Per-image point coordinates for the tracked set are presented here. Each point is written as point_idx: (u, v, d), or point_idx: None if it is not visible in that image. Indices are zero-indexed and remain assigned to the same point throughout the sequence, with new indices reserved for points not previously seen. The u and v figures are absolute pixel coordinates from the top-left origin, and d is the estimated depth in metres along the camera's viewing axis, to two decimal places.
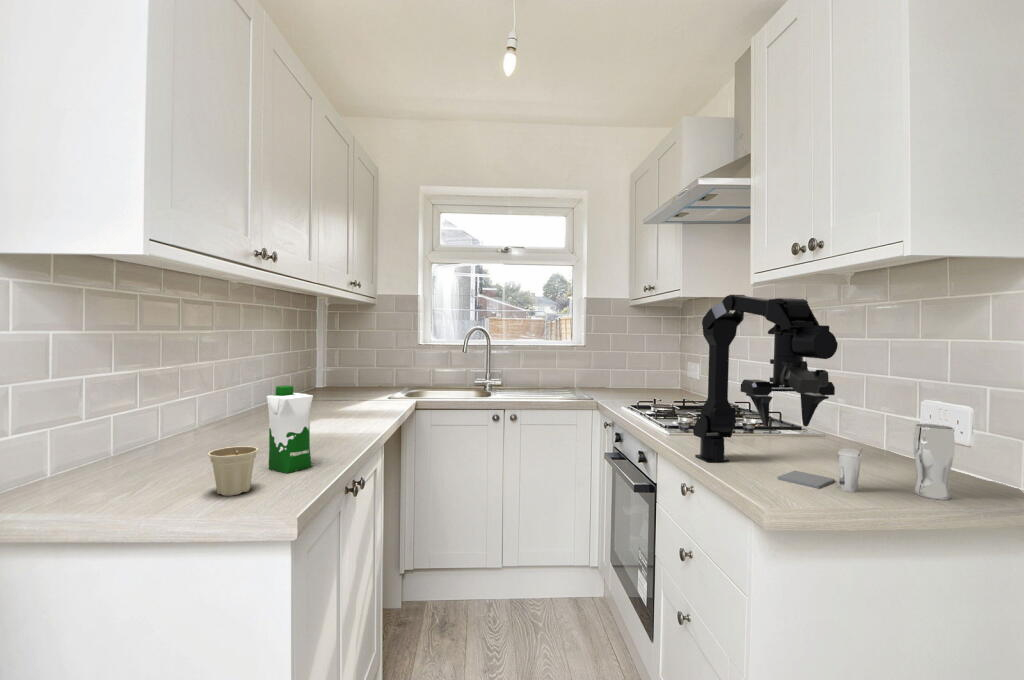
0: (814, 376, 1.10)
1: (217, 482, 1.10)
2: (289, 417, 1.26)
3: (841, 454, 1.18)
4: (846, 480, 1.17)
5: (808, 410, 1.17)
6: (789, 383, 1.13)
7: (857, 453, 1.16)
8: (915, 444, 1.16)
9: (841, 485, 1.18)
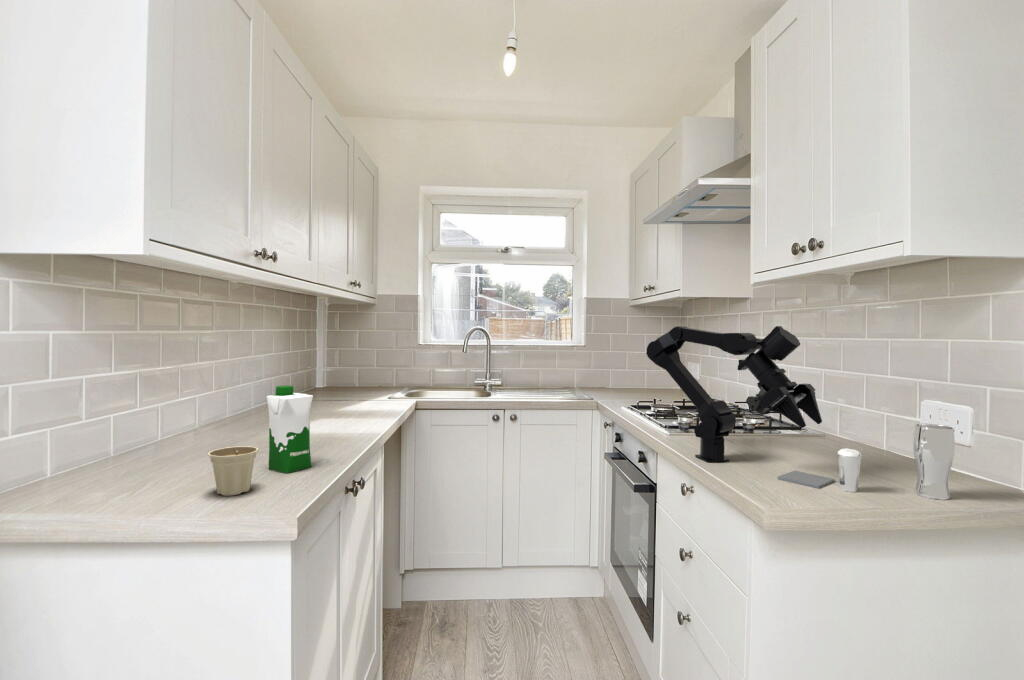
0: None
1: (217, 482, 1.10)
2: (289, 417, 1.26)
3: (841, 454, 1.18)
4: (846, 479, 1.17)
5: None
6: None
7: (857, 453, 1.16)
8: (915, 444, 1.16)
9: (841, 485, 1.18)
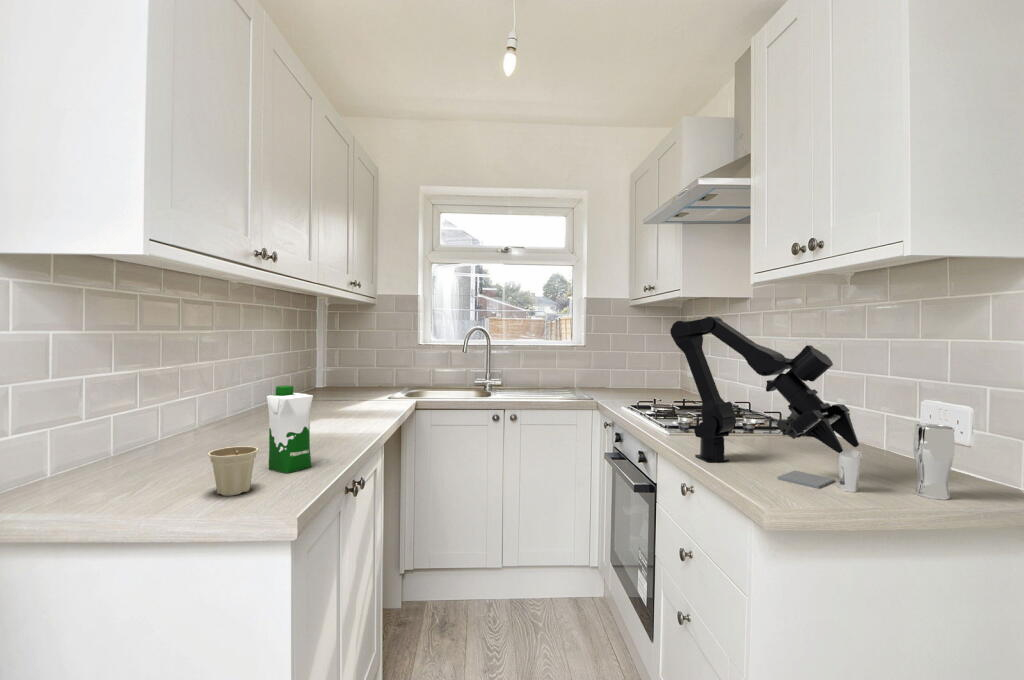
0: None
1: (217, 482, 1.10)
2: (289, 417, 1.26)
3: (841, 454, 1.18)
4: (846, 480, 1.17)
5: None
6: None
7: (857, 453, 1.16)
8: (915, 444, 1.16)
9: (841, 485, 1.18)
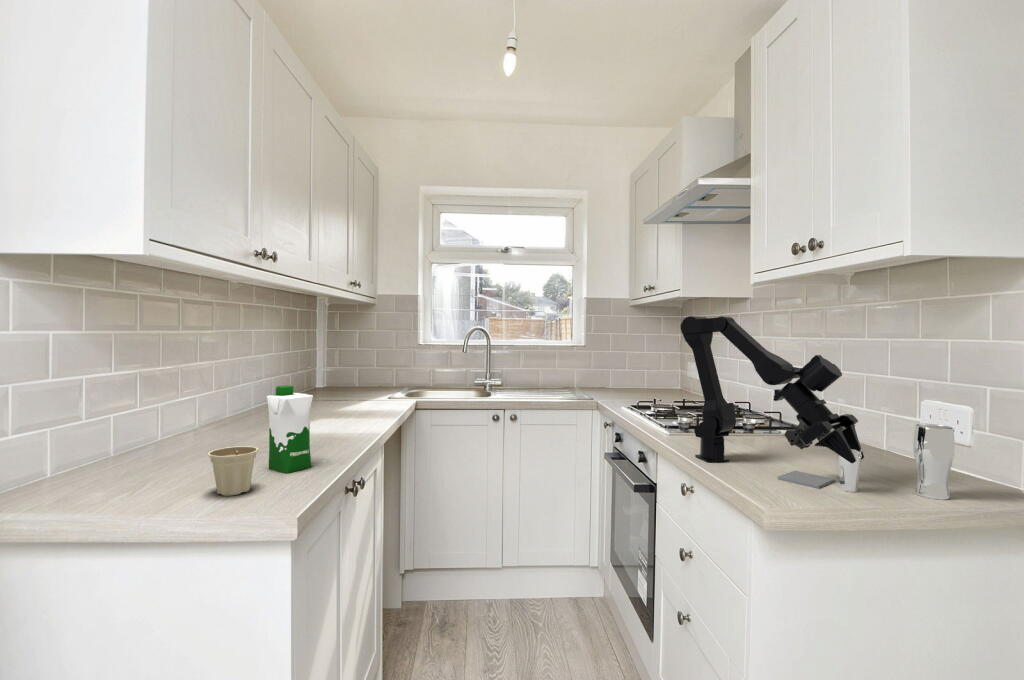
0: None
1: (217, 482, 1.10)
2: (289, 417, 1.26)
3: None
4: (846, 480, 1.17)
5: None
6: None
7: (857, 453, 1.16)
8: (915, 444, 1.16)
9: (841, 485, 1.18)
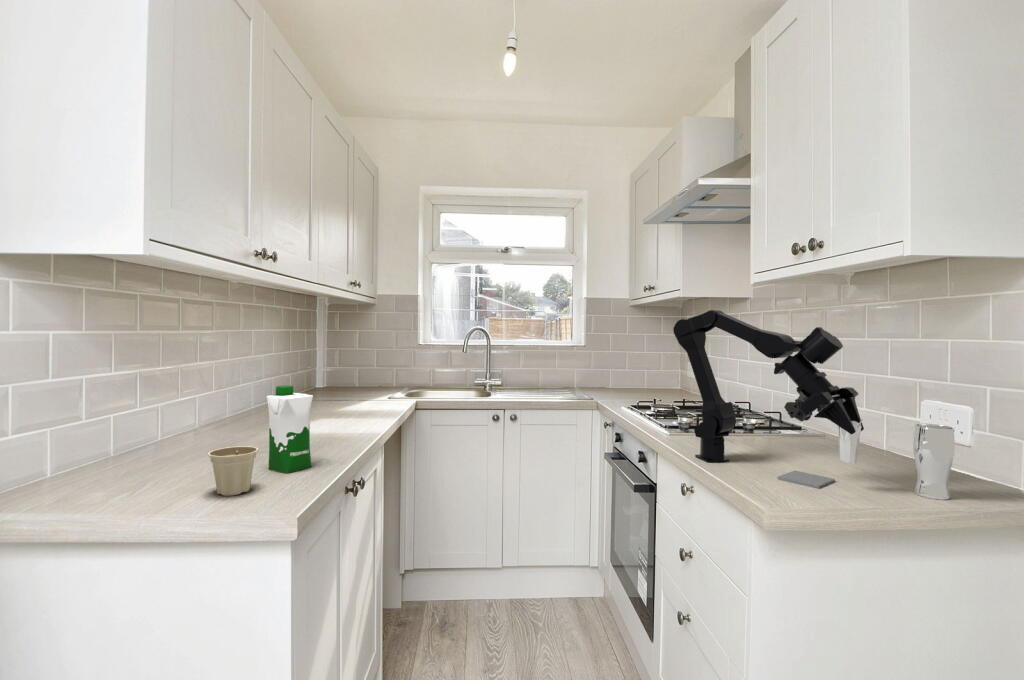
0: None
1: (217, 482, 1.10)
2: (289, 417, 1.26)
3: None
4: (845, 451, 1.17)
5: None
6: None
7: (857, 424, 1.16)
8: (915, 444, 1.16)
9: (840, 456, 1.18)
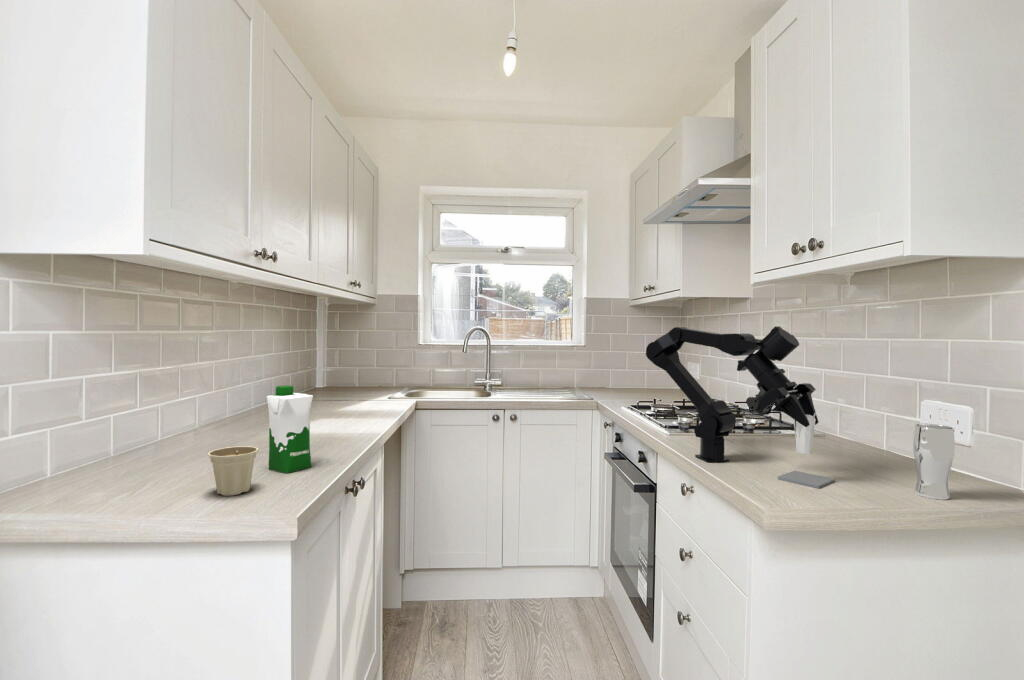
0: None
1: (217, 482, 1.10)
2: (289, 417, 1.26)
3: None
4: (801, 443, 1.25)
5: None
6: None
7: (811, 417, 1.24)
8: (915, 444, 1.16)
9: (796, 448, 1.26)
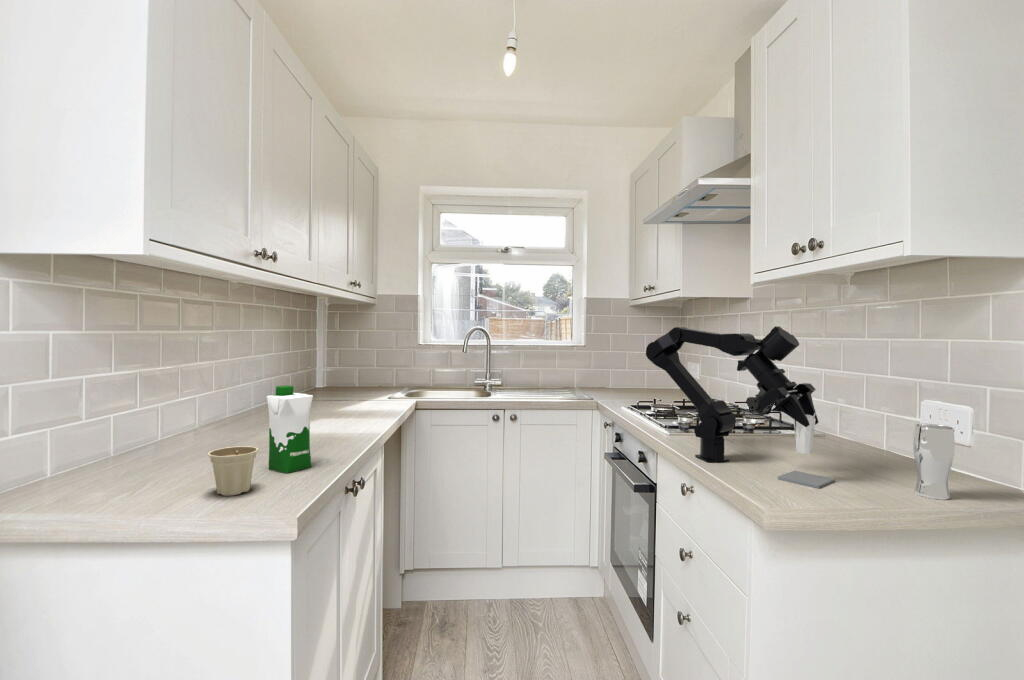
0: None
1: (217, 482, 1.10)
2: (289, 417, 1.26)
3: None
4: (801, 443, 1.25)
5: None
6: None
7: (811, 417, 1.24)
8: (915, 444, 1.16)
9: (796, 448, 1.26)
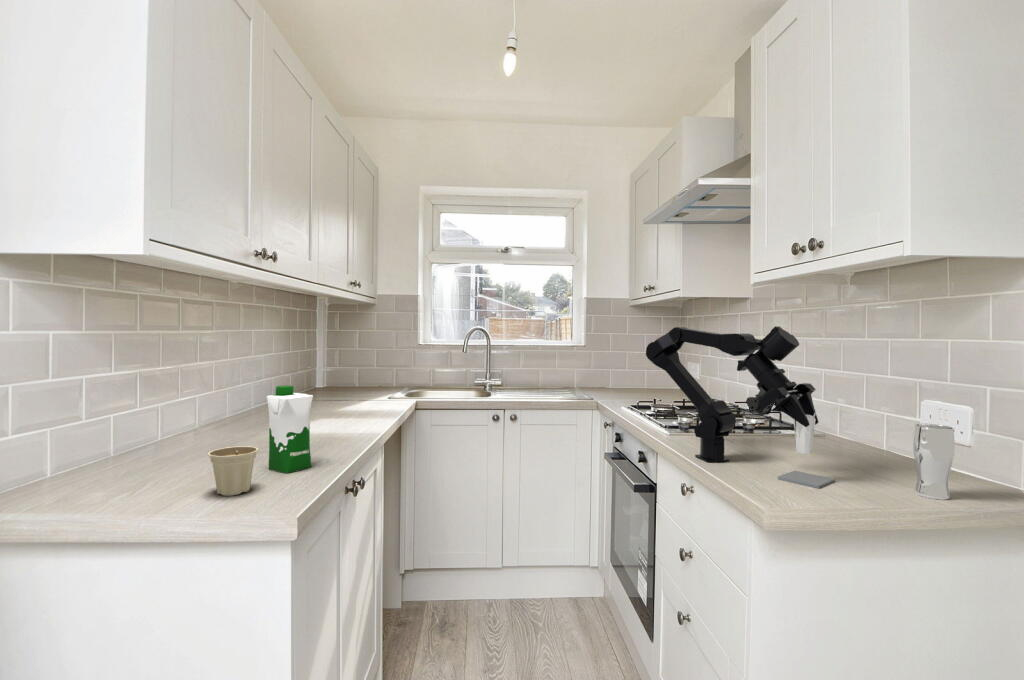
0: None
1: (217, 482, 1.10)
2: (289, 417, 1.26)
3: None
4: (800, 443, 1.25)
5: None
6: None
7: (811, 417, 1.24)
8: (915, 444, 1.16)
9: (796, 448, 1.26)
